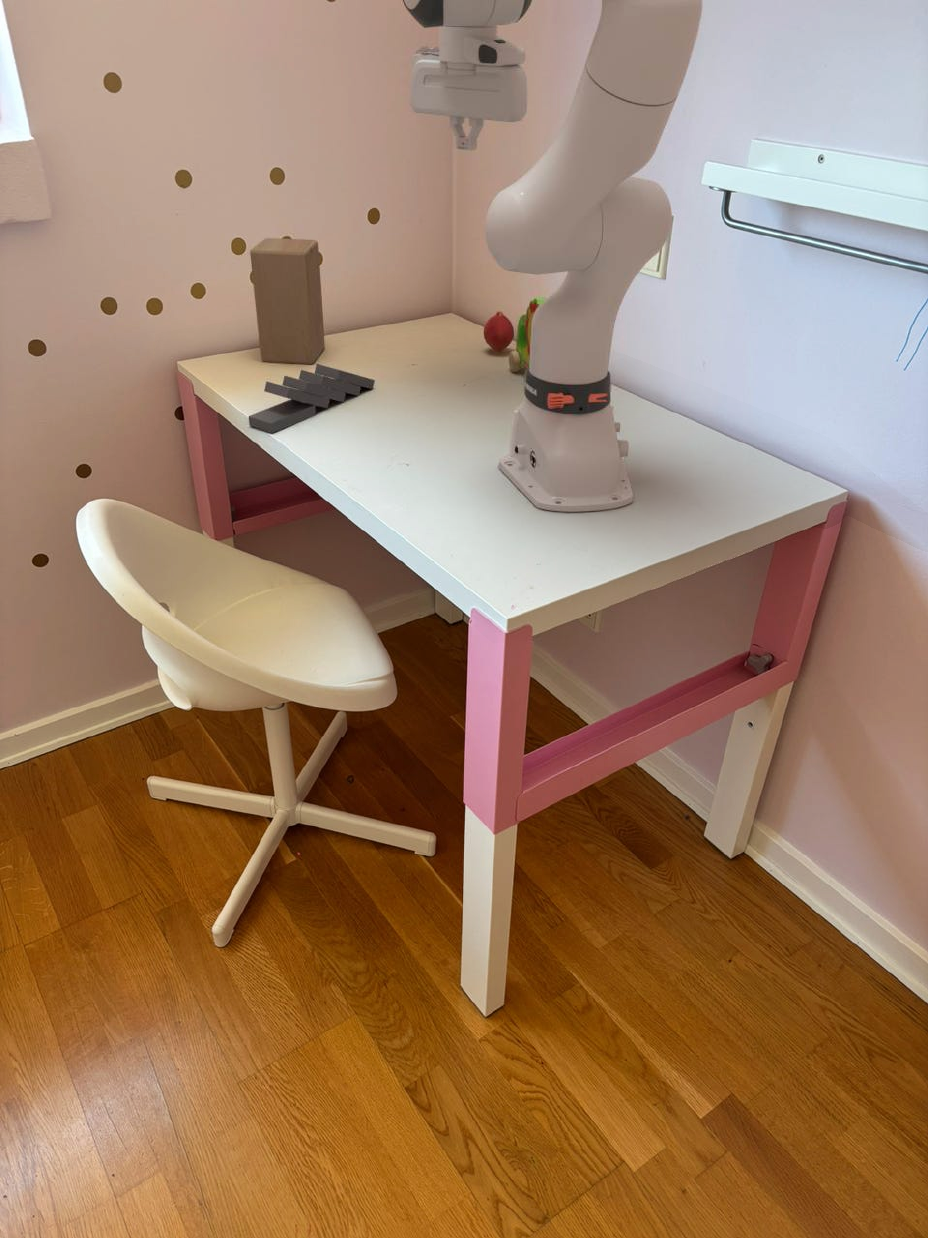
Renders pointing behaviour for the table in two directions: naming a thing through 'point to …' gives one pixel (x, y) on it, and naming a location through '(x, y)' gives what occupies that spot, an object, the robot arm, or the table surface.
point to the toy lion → (524, 338)
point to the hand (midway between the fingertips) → (466, 149)
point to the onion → (498, 332)
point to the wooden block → (288, 300)
